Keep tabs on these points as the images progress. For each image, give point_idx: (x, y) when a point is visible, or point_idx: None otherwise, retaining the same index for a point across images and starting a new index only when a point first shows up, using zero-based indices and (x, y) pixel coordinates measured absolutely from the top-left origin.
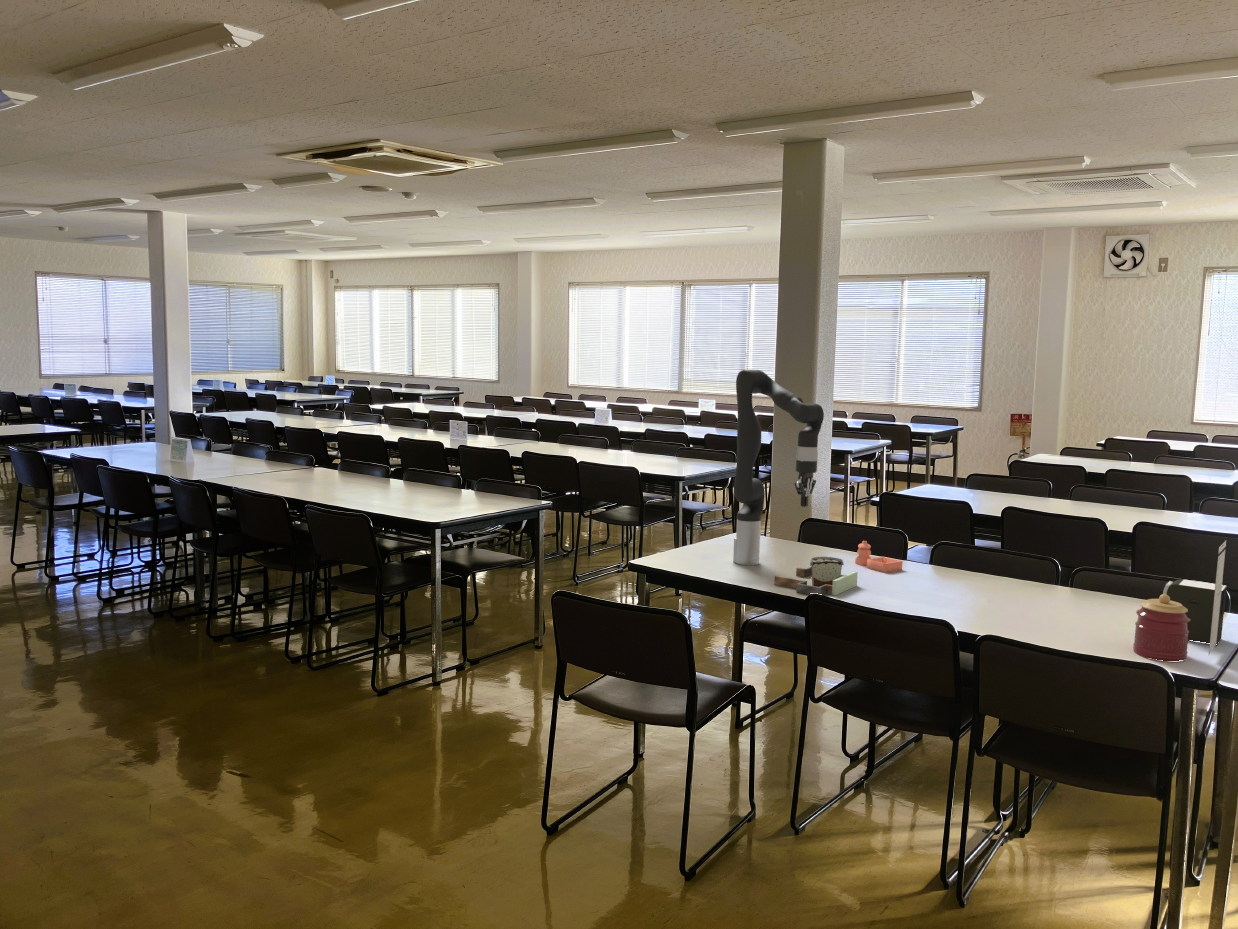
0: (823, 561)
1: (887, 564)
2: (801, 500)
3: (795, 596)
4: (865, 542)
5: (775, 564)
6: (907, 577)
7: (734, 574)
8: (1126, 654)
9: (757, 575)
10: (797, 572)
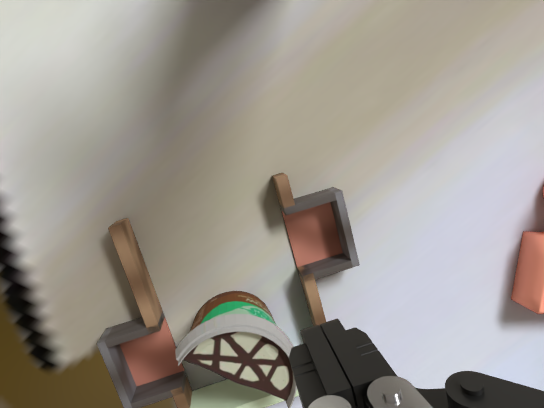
0: (225, 374)
1: (541, 312)
2: (298, 385)
3: (67, 360)
4: None
5: (348, 3)
6: (523, 352)
7: (89, 29)
8: None
9: (159, 93)
10: (275, 181)
